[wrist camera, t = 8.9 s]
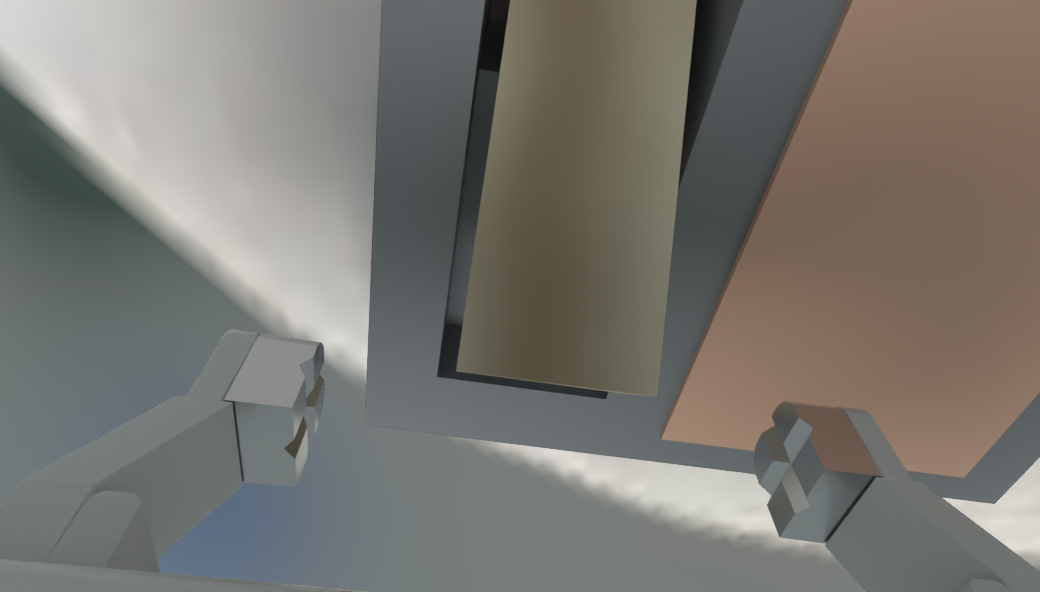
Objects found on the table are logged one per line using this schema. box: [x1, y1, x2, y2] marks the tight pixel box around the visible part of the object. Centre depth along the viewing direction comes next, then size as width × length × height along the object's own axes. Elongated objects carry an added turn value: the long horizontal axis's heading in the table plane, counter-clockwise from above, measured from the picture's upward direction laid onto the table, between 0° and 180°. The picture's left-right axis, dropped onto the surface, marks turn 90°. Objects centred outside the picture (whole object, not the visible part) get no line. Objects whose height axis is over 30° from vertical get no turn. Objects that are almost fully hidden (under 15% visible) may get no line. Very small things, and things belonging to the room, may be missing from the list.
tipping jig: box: [365, 0, 1040, 504], centre depth 17 cm, size 21×20×7 cm
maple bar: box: [456, 0, 697, 397], centre depth 15 cm, size 4×14×2 cm
